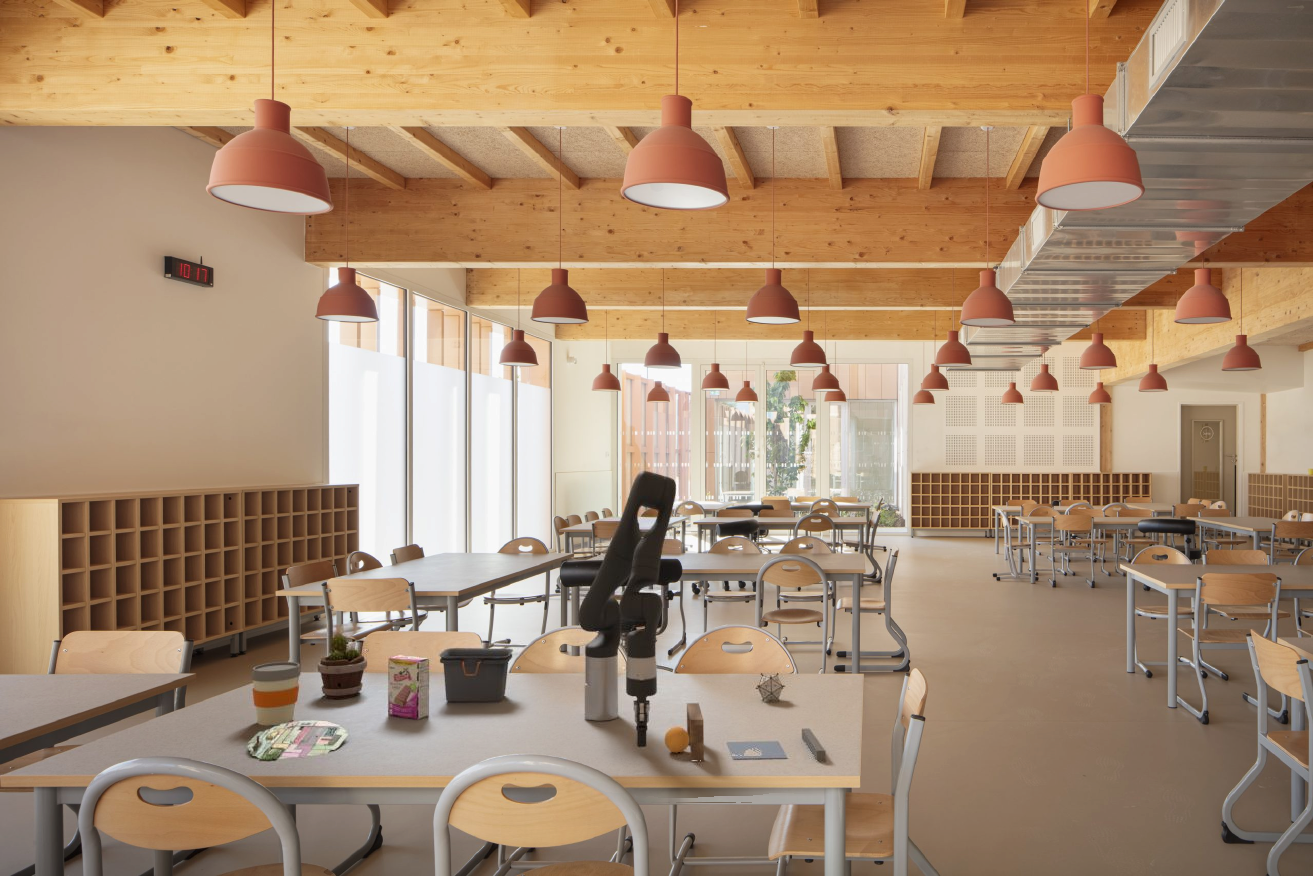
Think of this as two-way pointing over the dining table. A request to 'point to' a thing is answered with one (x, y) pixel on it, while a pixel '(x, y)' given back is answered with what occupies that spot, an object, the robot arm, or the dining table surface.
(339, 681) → the flowerpot
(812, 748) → the stopper
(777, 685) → the game die
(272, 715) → the reusable coffee cup
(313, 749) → the city model
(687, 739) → the ball
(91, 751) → the dining table surface
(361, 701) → the dining table surface
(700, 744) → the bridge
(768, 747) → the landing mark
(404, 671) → the candy bar box
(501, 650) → the storage bin
